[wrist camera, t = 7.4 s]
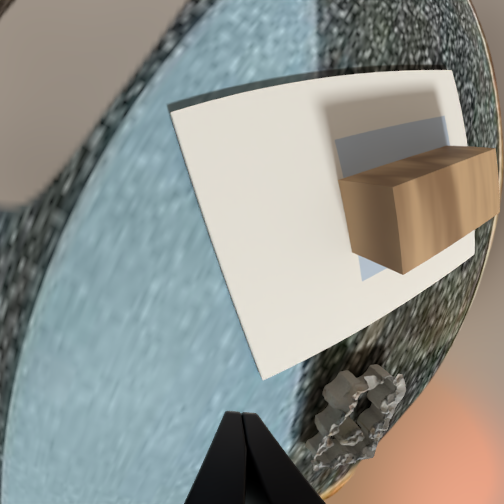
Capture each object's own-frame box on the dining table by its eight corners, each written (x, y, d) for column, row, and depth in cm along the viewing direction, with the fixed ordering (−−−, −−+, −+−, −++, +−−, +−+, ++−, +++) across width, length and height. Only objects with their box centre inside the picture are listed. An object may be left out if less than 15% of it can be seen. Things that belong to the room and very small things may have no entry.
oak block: (402, 275, 16) (499, 211, 19) (392, 187, 15) (495, 148, 17) (352, 252, 21) (453, 201, 24) (337, 180, 19) (447, 145, 22)
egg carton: (326, 367, 24) (354, 395, 21) (390, 358, 27) (419, 379, 23) (294, 454, 26) (313, 483, 23) (355, 439, 29) (375, 462, 25)
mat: (260, 376, 22) (263, 380, 21) (169, 113, 16) (170, 112, 15) (470, 252, 27) (474, 254, 27) (447, 70, 21) (451, 70, 21)
